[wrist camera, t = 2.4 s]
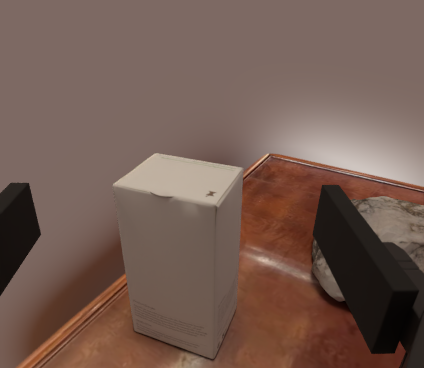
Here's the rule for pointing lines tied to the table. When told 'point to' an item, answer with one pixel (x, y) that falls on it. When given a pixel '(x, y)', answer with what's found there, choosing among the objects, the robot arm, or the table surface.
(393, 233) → the decorative stone
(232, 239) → the cosmetic box
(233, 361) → the table surface
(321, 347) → the table surface
